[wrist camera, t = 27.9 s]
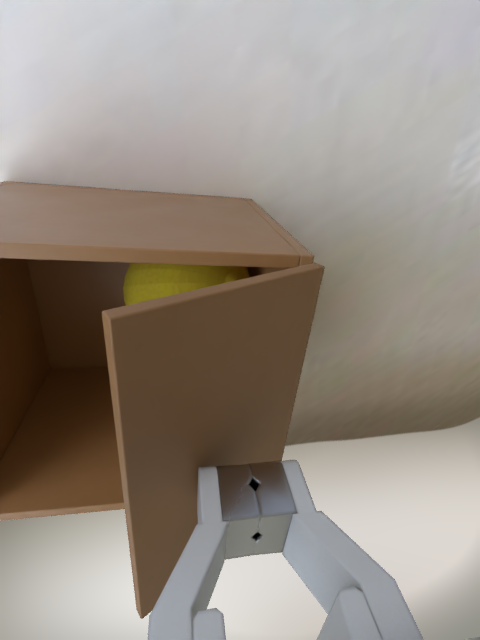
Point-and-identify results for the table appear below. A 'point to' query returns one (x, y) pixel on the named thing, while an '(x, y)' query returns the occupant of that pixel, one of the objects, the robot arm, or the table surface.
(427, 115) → the table surface
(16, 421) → the carton
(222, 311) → the flap
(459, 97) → the table surface
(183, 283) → the lemon
